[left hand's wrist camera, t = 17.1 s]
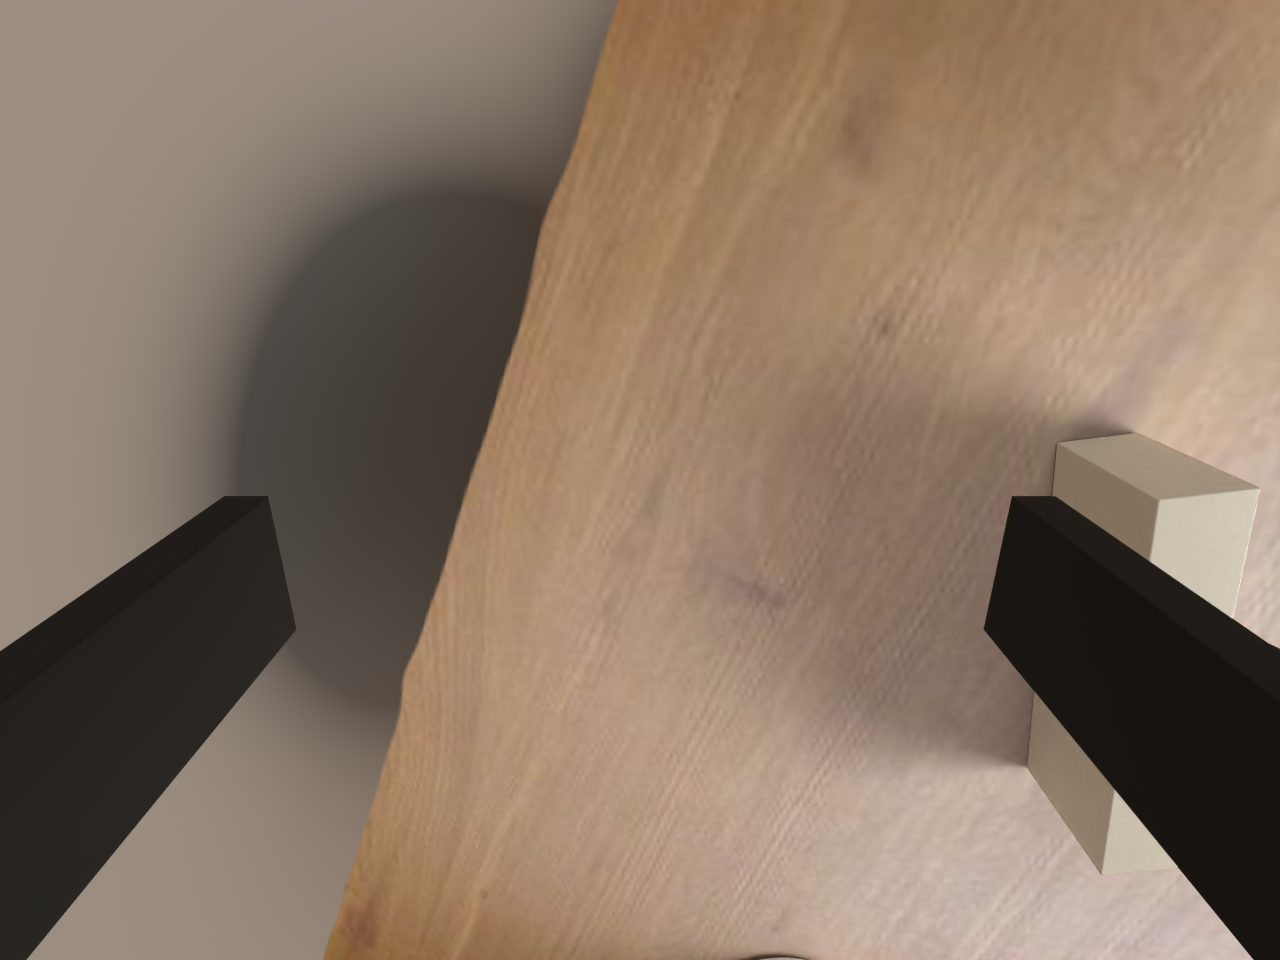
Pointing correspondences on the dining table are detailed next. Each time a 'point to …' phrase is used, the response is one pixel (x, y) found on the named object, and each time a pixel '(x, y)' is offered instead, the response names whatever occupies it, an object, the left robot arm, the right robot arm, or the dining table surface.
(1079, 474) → the bar
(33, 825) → the left robot arm
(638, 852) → the dining table surface
